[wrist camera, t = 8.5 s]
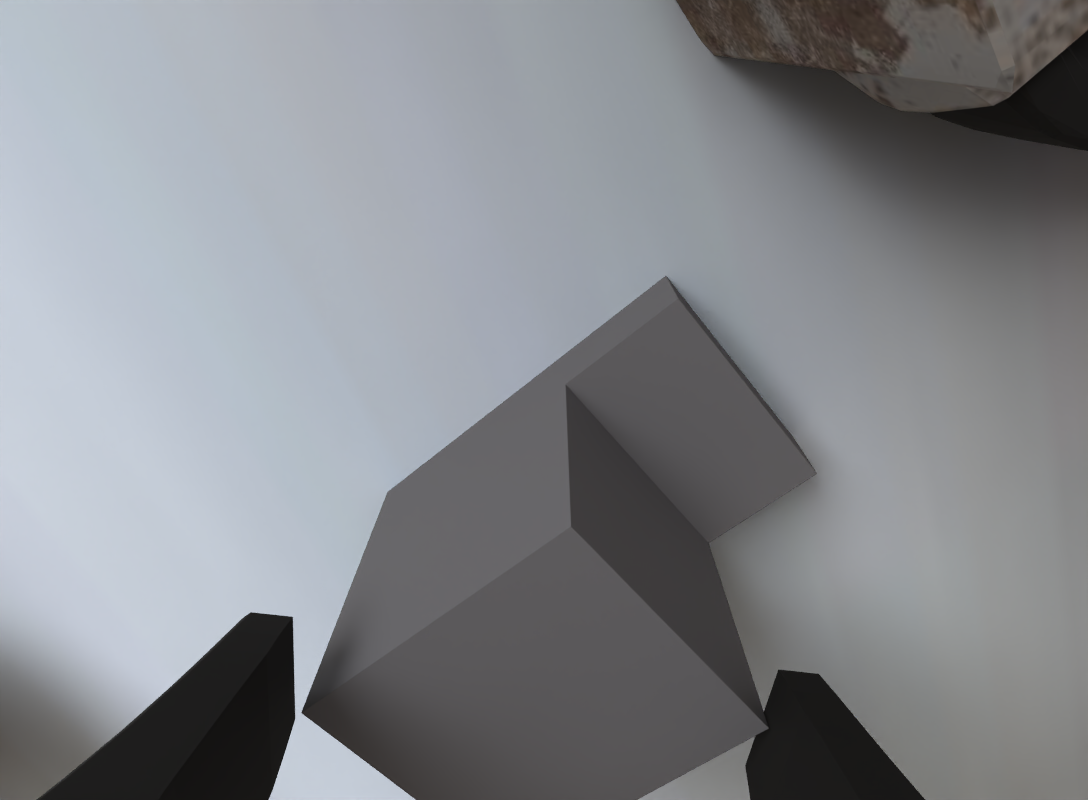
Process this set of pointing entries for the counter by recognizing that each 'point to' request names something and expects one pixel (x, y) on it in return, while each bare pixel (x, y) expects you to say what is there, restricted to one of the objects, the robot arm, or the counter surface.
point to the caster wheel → (928, 55)
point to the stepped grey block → (565, 579)
